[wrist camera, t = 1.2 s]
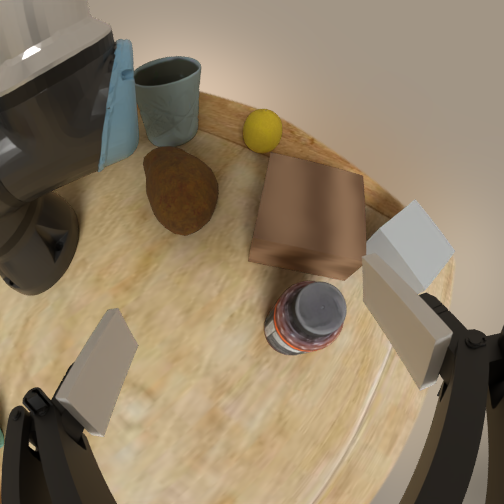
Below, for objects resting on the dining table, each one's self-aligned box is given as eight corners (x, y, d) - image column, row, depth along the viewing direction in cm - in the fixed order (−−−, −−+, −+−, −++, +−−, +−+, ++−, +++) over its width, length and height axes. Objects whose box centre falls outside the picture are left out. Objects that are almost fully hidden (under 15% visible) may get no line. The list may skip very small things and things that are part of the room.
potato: (204, 164, 38) (200, 118, 30) (230, 233, 33) (232, 189, 25) (147, 180, 36) (133, 136, 28) (164, 253, 31) (145, 215, 24)
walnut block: (248, 261, 32) (252, 237, 27) (264, 182, 37) (270, 152, 32) (344, 280, 32) (366, 262, 27) (346, 201, 37) (362, 175, 32)
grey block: (358, 250, 34) (379, 228, 28) (394, 221, 37) (415, 199, 31) (398, 303, 31) (425, 290, 26) (430, 267, 34) (455, 251, 28)
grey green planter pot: (137, 151, 38) (119, 90, 27) (151, 113, 42) (141, 58, 31) (199, 149, 39) (194, 84, 28) (206, 111, 43) (205, 53, 32)
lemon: (233, 151, 39) (236, 109, 32) (256, 134, 41) (262, 95, 34) (262, 169, 38) (270, 128, 31) (284, 151, 40) (294, 111, 33)
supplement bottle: (293, 293, 31) (325, 253, 21) (325, 333, 29) (374, 312, 19) (251, 324, 29) (265, 298, 19) (285, 366, 27) (318, 365, 17)
